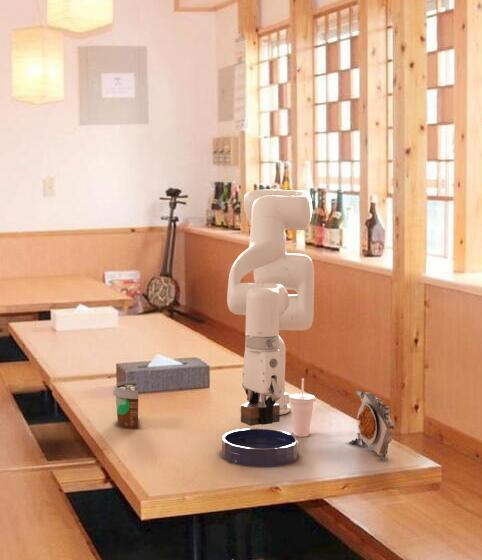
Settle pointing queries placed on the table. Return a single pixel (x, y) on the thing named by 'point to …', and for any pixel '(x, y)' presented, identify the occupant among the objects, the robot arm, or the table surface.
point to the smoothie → (301, 412)
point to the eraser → (256, 413)
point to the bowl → (259, 447)
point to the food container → (127, 404)
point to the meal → (373, 424)
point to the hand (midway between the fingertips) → (260, 420)
